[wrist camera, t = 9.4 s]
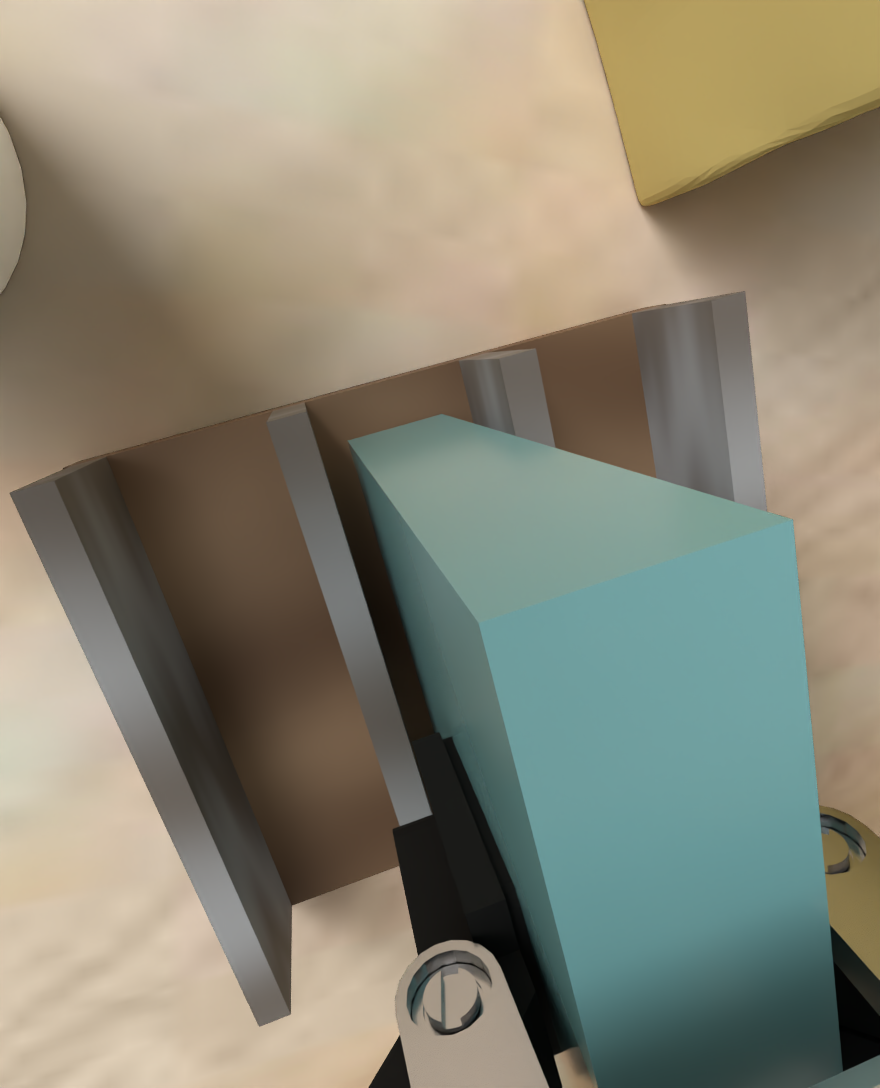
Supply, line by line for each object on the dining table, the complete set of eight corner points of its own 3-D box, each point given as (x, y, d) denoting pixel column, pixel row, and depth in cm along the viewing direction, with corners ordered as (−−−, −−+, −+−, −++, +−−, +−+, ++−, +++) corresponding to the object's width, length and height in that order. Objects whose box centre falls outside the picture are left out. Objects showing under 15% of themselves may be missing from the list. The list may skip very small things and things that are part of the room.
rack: (704, 725, 23) (803, 812, 18) (261, 887, 21) (251, 1029, 16) (643, 307, 18) (753, 288, 14) (78, 461, 16) (-2, 496, 12)
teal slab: (539, 806, 20) (873, 1406, 8) (464, 835, 19) (703, 1497, 8) (442, 414, 16) (791, 520, 5) (347, 440, 16) (478, 623, 4)
